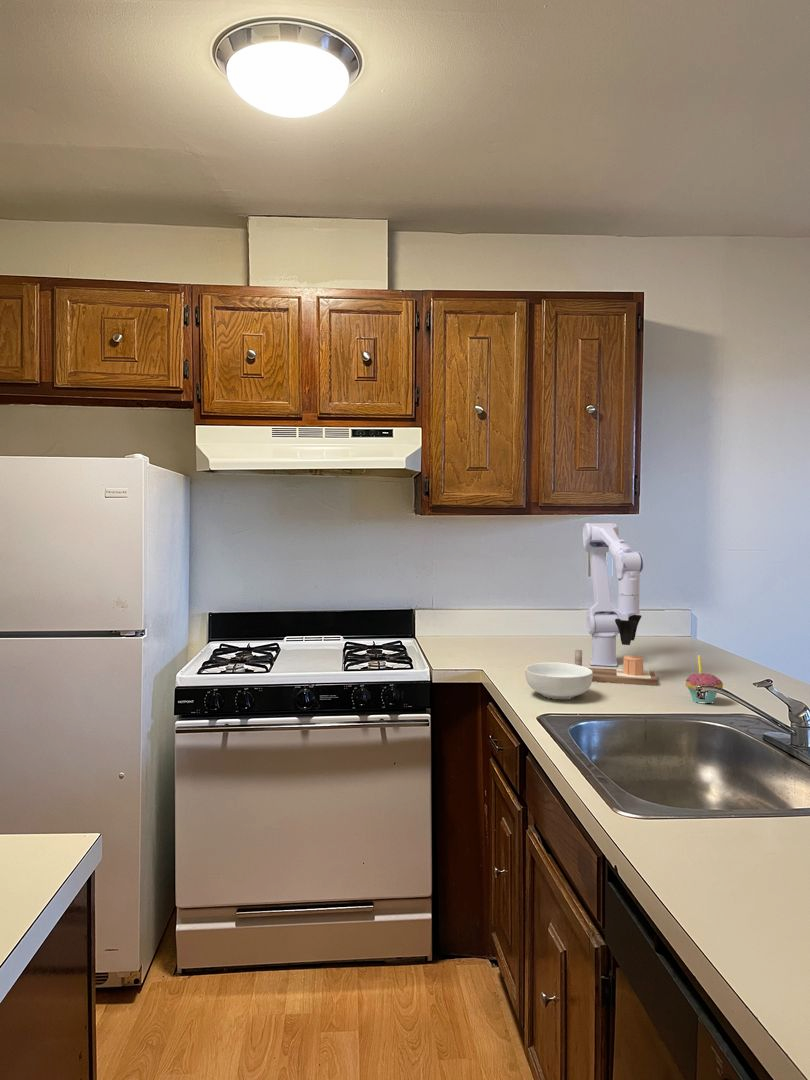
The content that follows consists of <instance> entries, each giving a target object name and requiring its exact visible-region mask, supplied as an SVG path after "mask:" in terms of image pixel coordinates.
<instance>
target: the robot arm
mask: <svg viewBox="0 0 810 1080" xmlns="http://www.w3.org/2000/svg"><path fill="white" fill-rule="evenodd" d="M582 542H583V545H582V546H583V548H584V551H585V552H588V555H589V561H590V570H591V581H592V590H593V600H594V601H593V603H594V604H593V605H591V606H590V608H588V610H587V611H586V619H585V626H586V631H587V632H588V634H589V635H591V657H590V660H589V661H590V662H589V663H590V664H589V665H590V666H604V667H617V666H618V659H616V657H617V656H616V655H617V648H616V647H617V637H618V636H619V637H620V642H621V645H622V646H631V642H632V641H635V638H636V636H637V635H636V634H637V630H638V625H639V623H640V620H641V619H642V614H641V610H640V587H641V586H640V582H641V579H640V576H641V574H640V573H641V572H643V570H644V569H643V568H644V563H645V562H644V556H643V554H642V552H641V551H634V550H633V549H632V547H631V546H630V545H629V544H628V542H626V540H625V539H620V537H619V527H618V525H617V524H616V522H610V523H609V522H608V523H606V522H605V523H604V522H603V523H601V522H599V523H597V522H595V523H594V522H593V523H592V522H586V523H585V524H584V525H583V528H582ZM607 553H608V554H609V555H610V556H611V557H612V559H613V560H614V565H615V571H616V578H617V580H618V581H617V583H618V584H617V585H618V586H617V588H618V590H617V591H618V592H617V595H618V596H617V597H618V598H617V606H615V605H614V604H613V603H611V595H610V586H609V585H610V584H609V576H608V575H609V574H608V568H607V567H608V566H607V557H606V555H607Z"/></svg>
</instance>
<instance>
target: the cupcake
mask: <svg viewBox="0 0 810 1080" xmlns="http://www.w3.org/2000/svg"><path fill="white" fill-rule="evenodd" d="M697 653H698V654H697V663H698V672H696V673H693V674H690V675H689V676H687V678H686V679H685V686H686V688H687V689H688V690H689V693H690V696H691V699H692V701H693V702H694V701H696V702H705V703H712V702H713V703H714V702H715V699H716V697H717V694H718V692H714V691H708V692H707V696H706V699H705V700H701V699H697V697H696V687H697V686H699V685H700V686H714V687H718V688H722V689H723V688H724V683H723V681H722V680H721V679H719V677H717V676H715V675H714V674H711V673H704V672H703V669H702V668H703V667H702V658H701V655H700V653H699V652H697ZM696 702H695V703H696ZM713 703H712V704H713Z"/></svg>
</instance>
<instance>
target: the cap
mask: <svg viewBox="0 0 810 1080" xmlns="http://www.w3.org/2000/svg"><path fill="white" fill-rule="evenodd" d="M622 666H623V667H622V668H623V673H624V674H627V675H635V676H636V675H643V671H644V657H643V656H641V655H636V654H635V655H631V654H628V655H627V654H626V655H624V656H623V665H622Z"/></svg>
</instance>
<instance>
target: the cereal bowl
mask: <svg viewBox="0 0 810 1080" xmlns="http://www.w3.org/2000/svg"><path fill="white" fill-rule="evenodd" d="M589 668H590V667H586V666H583V665H582V666H579V665H575V663H574V664H573V663H565V662H557V661H556V662H553V661H551V662H537V663H532V664H528V665H527V666H526V667H525V672H524V673H525V678H526V682H527V685H528V686H529V688H531V689H532V690H533V691H535V692H536V693H538V694H541V695H542V696H543V697H544V698H546V697H547V699H550V698H552V699H551V700H556V699H567V700H570V699H569V698H572V699H574V698H575V697H578V696H581V695H582V694H584V693H586V692H587V691H588V690H589V689H590V687H591V686H592V683H593V682H592V677H593V672H592V670H590V669H589Z"/></svg>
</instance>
